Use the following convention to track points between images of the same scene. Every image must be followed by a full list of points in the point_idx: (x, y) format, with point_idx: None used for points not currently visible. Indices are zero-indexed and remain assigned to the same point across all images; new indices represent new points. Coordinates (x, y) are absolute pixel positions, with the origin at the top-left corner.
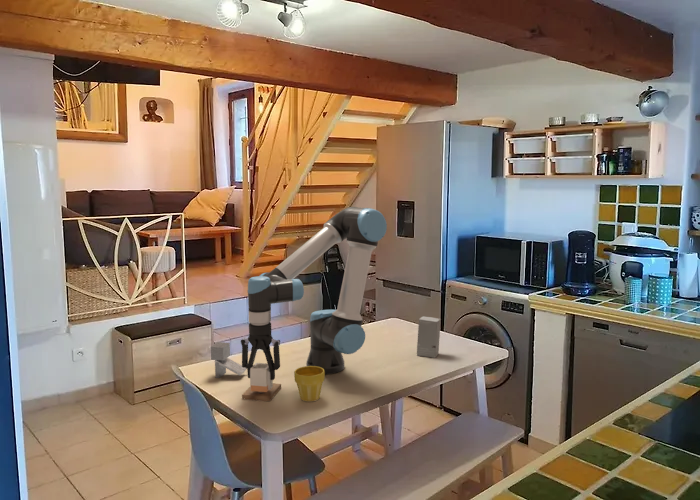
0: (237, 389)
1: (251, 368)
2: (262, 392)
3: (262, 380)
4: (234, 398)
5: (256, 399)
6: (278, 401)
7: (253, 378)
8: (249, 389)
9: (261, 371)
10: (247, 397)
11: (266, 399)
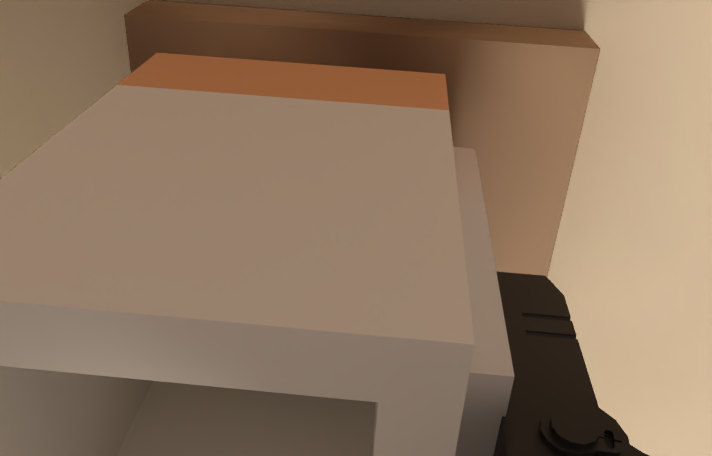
0: (701, 317)
1: (428, 342)
2: None
3: (155, 137)
4: (709, 36)
5: (352, 16)
6: (33, 15)
7: (379, 171)
8: (521, 247)
9: (76, 259)
10: (499, 32)
11: (192, 10)
